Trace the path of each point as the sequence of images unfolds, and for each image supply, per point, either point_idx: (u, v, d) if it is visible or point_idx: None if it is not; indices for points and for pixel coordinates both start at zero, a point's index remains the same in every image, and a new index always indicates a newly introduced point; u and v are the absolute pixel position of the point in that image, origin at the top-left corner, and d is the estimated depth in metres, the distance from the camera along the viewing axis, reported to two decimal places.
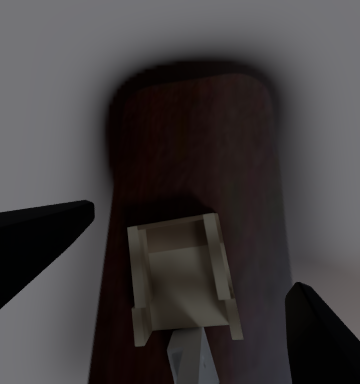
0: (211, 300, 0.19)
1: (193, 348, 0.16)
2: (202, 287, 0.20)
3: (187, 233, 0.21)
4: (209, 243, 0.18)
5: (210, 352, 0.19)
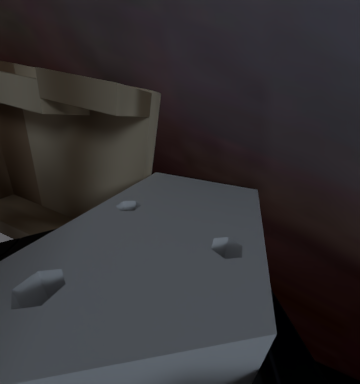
0: (105, 135, 0.09)
1: None
2: (84, 143, 0.10)
3: (9, 132, 0.12)
4: None
5: (202, 181, 0.09)
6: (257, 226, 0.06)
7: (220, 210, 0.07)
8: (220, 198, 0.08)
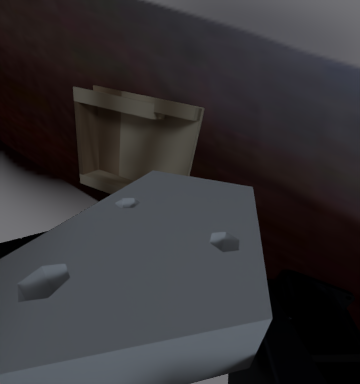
0: (172, 130, 0.17)
1: None
2: (158, 135, 0.18)
3: (107, 129, 0.19)
4: (100, 105, 0.16)
5: (198, 178, 0.10)
6: (253, 221, 0.06)
7: (217, 206, 0.07)
8: (217, 195, 0.08)
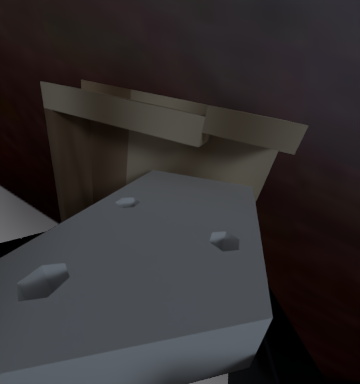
0: (221, 160, 0.10)
1: None
2: (194, 166, 0.10)
3: (106, 152, 0.12)
4: (91, 116, 0.08)
5: (198, 178, 0.10)
6: (253, 221, 0.06)
7: (217, 206, 0.07)
8: (217, 195, 0.08)
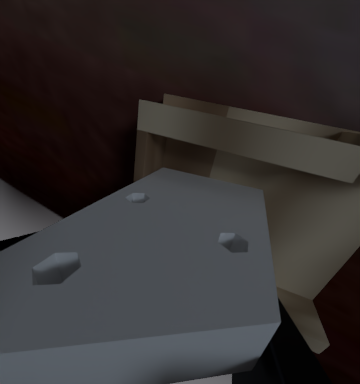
0: (335, 188, 0.08)
1: None
2: (295, 193, 0.09)
3: None
4: (203, 142, 0.07)
5: (208, 178, 0.10)
6: (263, 224, 0.06)
7: (226, 207, 0.07)
8: (226, 196, 0.08)
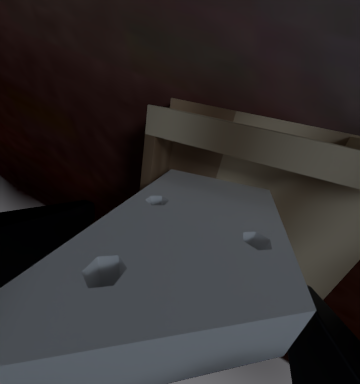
0: (342, 193, 0.08)
1: None
2: (302, 197, 0.09)
3: None
4: (211, 147, 0.07)
5: (217, 179, 0.10)
6: (278, 223, 0.06)
7: (241, 207, 0.07)
8: (238, 196, 0.08)
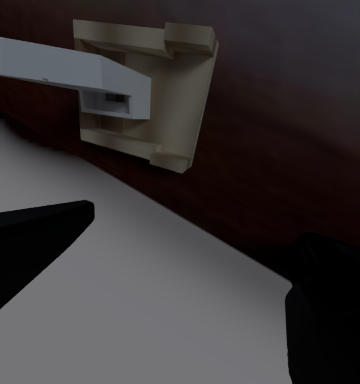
0: (182, 72, 0.15)
1: None
2: (166, 80, 0.16)
3: None
4: (103, 39, 0.14)
5: None
6: (128, 68, 0.13)
7: None
8: None
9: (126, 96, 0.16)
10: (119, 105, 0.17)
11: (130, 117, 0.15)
